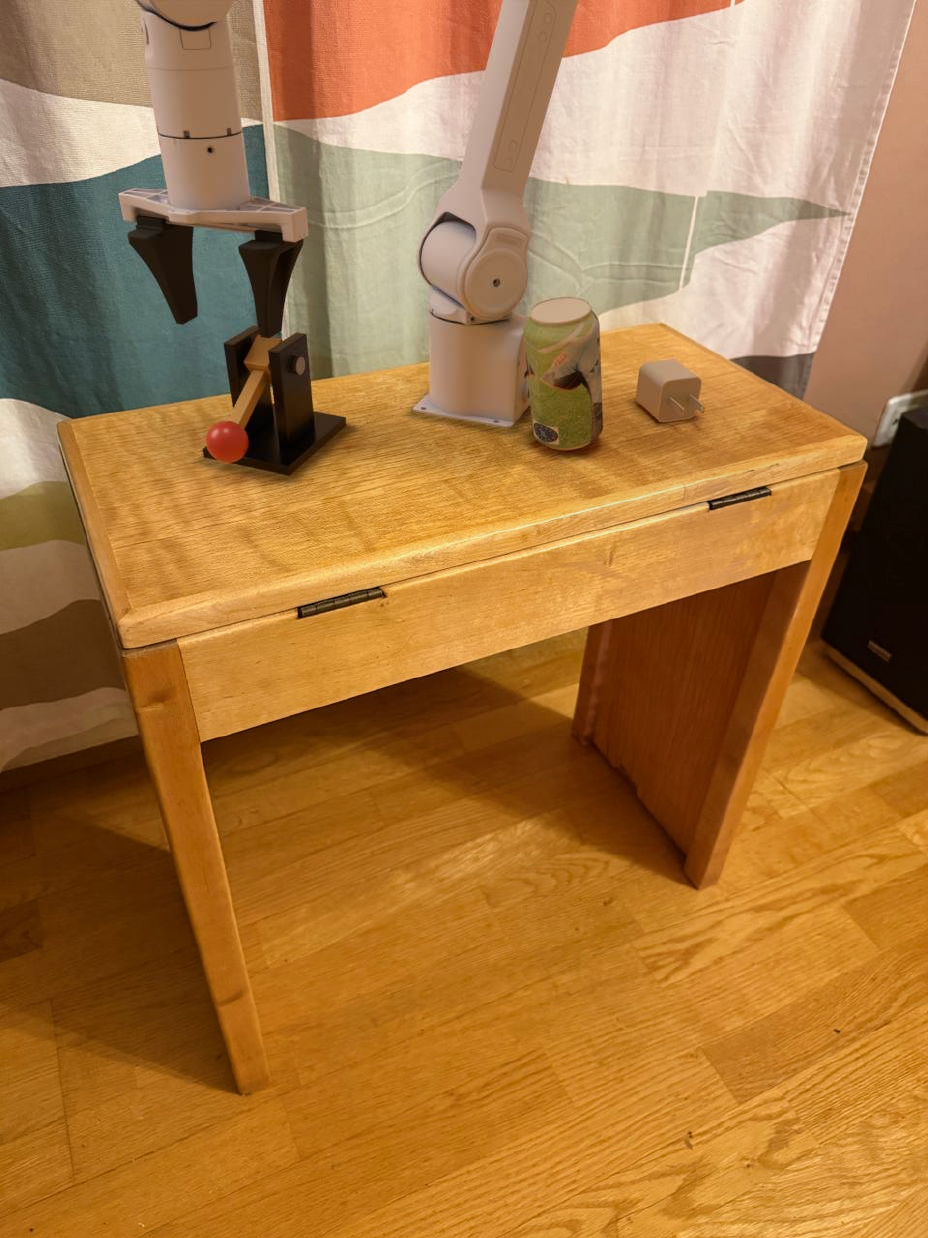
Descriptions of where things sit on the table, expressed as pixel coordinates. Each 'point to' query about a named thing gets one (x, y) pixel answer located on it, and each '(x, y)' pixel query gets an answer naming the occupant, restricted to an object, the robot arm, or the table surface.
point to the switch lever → (242, 405)
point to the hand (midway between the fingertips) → (228, 326)
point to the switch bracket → (279, 406)
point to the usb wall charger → (668, 390)
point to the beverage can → (564, 372)
